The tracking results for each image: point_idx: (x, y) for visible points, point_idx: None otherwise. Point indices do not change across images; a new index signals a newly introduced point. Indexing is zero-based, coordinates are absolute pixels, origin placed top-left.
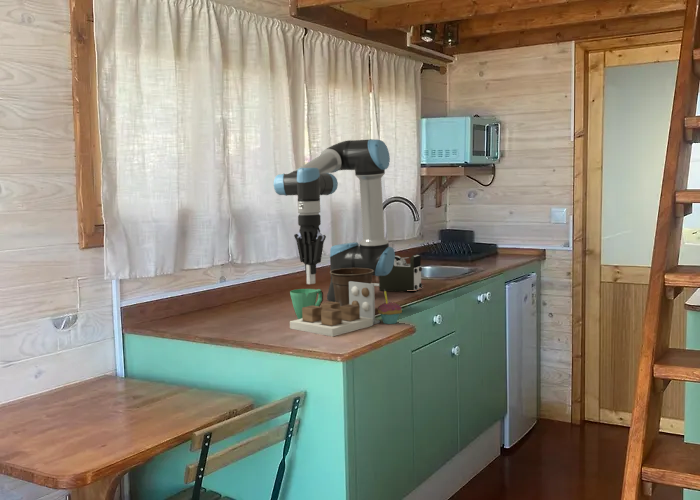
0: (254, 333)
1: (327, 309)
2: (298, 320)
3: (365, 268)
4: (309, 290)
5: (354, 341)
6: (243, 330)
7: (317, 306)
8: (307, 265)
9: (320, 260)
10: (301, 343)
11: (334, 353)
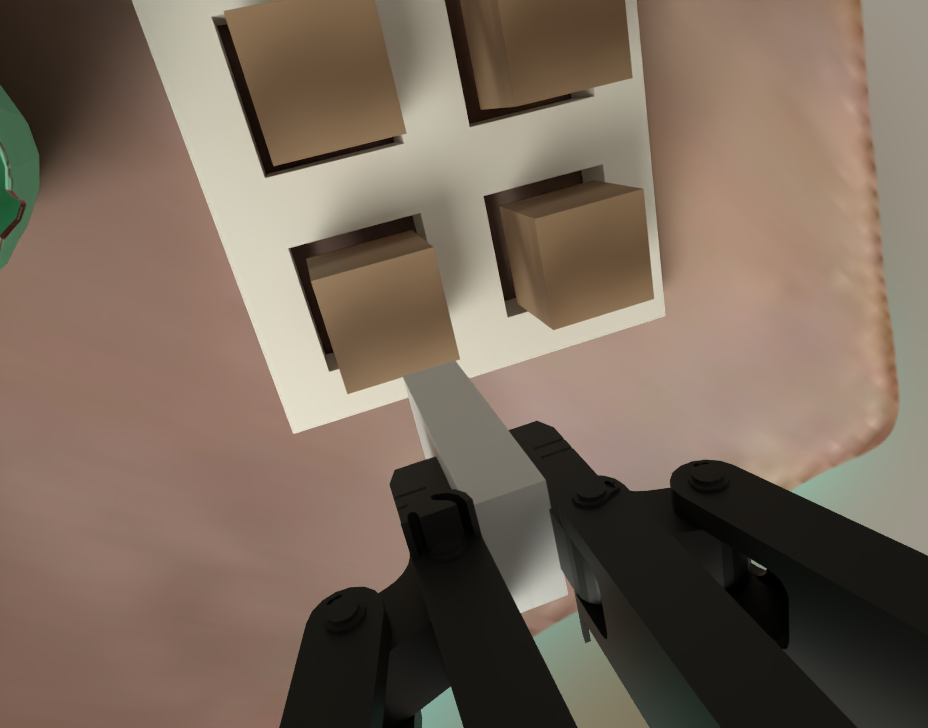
0: (284, 615)
1: (553, 268)
2: (304, 373)
3: None
4: None
5: (792, 266)
6: (162, 647)
7: (388, 268)
8: (524, 604)
9: (750, 483)
10: (637, 490)
11: (856, 444)
